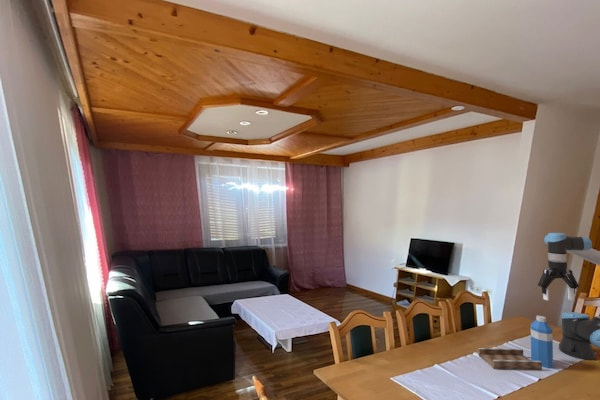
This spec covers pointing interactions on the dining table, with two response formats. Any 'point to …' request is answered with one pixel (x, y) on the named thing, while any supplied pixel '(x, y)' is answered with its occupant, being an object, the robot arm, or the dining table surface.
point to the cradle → (508, 359)
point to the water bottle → (542, 342)
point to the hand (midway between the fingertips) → (558, 299)
